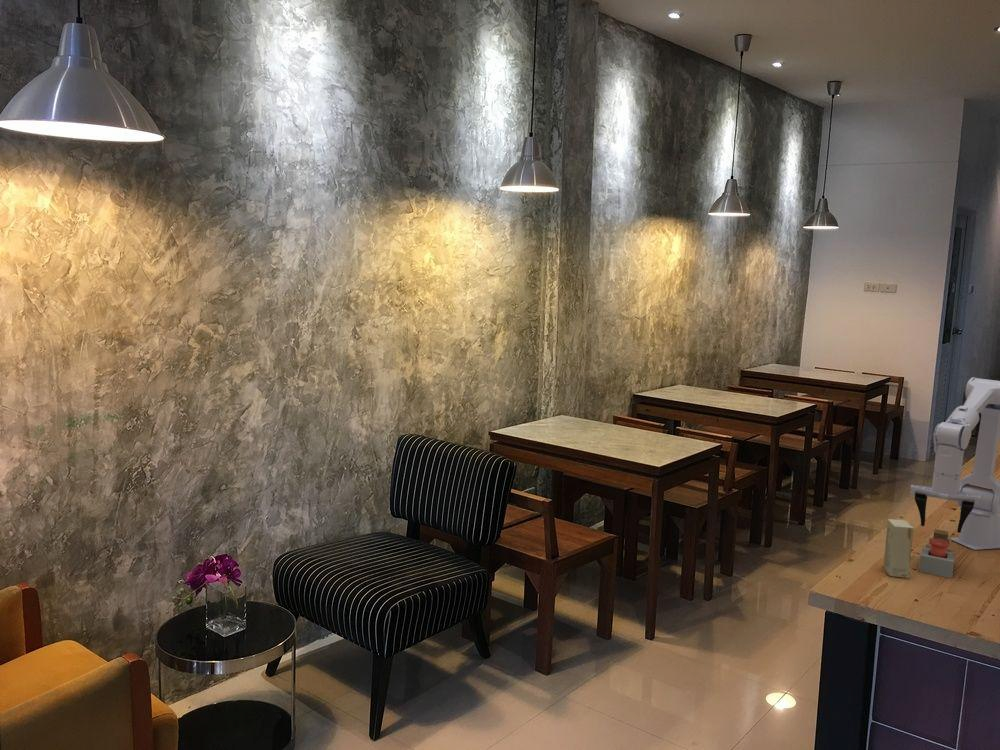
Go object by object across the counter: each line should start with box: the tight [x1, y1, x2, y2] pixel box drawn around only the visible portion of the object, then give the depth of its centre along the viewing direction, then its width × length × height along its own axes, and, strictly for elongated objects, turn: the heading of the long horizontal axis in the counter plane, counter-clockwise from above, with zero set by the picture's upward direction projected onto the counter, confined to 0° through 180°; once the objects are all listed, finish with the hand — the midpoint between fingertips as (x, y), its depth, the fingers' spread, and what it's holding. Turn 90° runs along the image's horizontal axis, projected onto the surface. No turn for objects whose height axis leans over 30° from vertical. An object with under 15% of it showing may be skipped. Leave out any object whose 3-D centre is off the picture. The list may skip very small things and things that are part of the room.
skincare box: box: [882, 518, 914, 579], centre depth 192 cm, size 6×4×12 cm
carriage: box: [925, 528, 954, 553], centre depth 200 cm, size 6×6×7 cm
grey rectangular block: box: [918, 546, 956, 579], centre depth 195 cm, size 7×7×4 cm
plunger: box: [928, 537, 951, 558], centre depth 194 cm, size 4×4×5 cm
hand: (940, 528), depth 195 cm, fingers open, 7 cm apart
